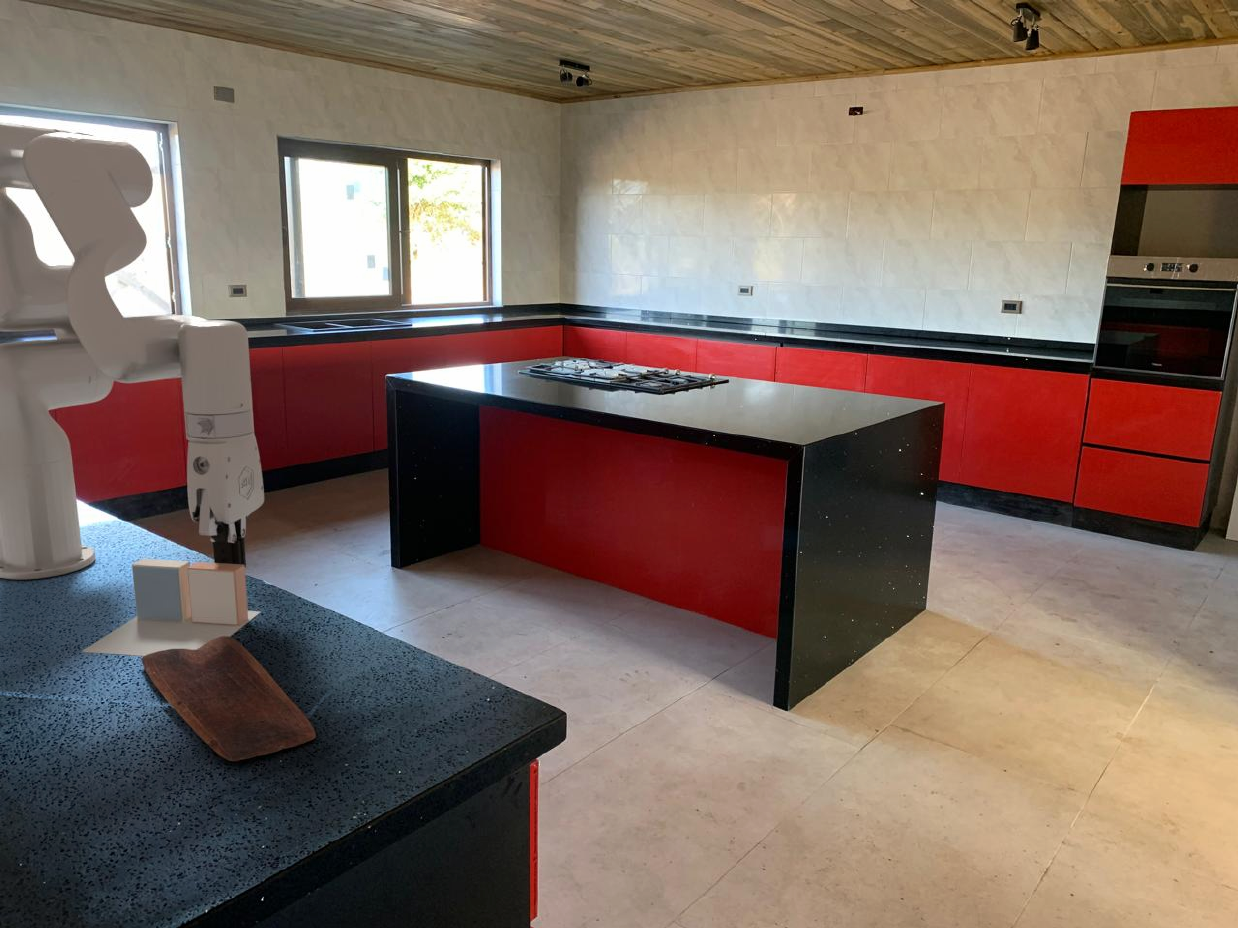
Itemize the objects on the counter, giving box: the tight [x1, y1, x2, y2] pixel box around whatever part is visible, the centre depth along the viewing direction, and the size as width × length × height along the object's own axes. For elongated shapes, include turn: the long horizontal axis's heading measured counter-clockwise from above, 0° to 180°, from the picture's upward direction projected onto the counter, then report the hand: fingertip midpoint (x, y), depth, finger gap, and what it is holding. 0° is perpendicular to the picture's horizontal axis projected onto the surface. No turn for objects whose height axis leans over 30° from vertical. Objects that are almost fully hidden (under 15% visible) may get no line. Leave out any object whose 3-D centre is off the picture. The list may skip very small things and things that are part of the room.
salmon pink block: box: [187, 561, 249, 625], centre depth 110 cm, size 6×2×7 cm, turn 85°
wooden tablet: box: [140, 636, 317, 762], centre depth 92 cm, size 26×2×10 cm
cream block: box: [131, 558, 191, 622], centre depth 110 cm, size 6×2×7 cm, turn 85°
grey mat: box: [81, 610, 261, 657], centre depth 107 cm, size 14×14×1 cm
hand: (230, 569), depth 112 cm, fingers closed
